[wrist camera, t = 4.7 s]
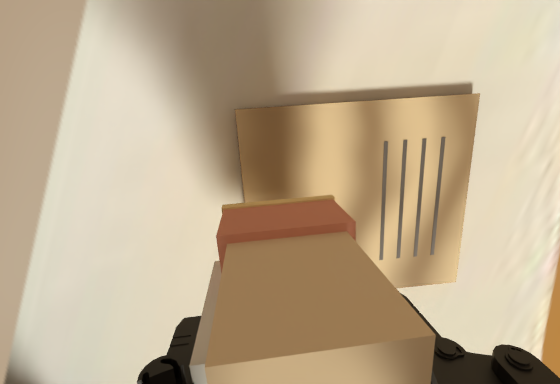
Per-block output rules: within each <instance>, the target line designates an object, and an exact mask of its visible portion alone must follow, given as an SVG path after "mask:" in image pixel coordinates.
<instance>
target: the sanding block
mask: <svg viewBox="0 0 560 384" xmlns="http://www.w3.org/2000/svg"><path fill="white" fill-rule="evenodd" d="M216 238H217V245H218V252H219V260H220V267H221V280H220V285H219V291H218V296H217V302H216V307H215V313H214V318H213V324H212V329H211V335H210V340H209V346H208V351H207V357H206V362H205V373H206V379H207V384H431V375H432V366H433V356H434V346H435V337H436V335H435V334H434V332H433V331H432V330H431V329H430V328H429V327H428V325H427V324H426V323H425V322H424V321H423V320H422V318H421V317H420V316H419V315H418V314H417V313H416V311H415V310H414V309H413V308H412V307H411V305H410V304H409V303H408V302H407V301H406V300H405V298H404V297H403V296H402V295H401V294H400V293H399V291H398V290H397V289H396V288H395V287H394V286H393V284H392V283H391V282H390V281H389V280H388V279H387V277H386V276H385V275H384V274H383V273H382V272H381V270H380V269H379V268H378V267H377V266H376V265H375V263H374V262H373V261H372V260H371V259H370V258H369V256H368V255H367V254H366V253H365V252H364V251H363V249H362V248H361V247H360V246H359V245H358V244H357V242H356V221H355V220H354V219H353V218H352V217H351V216H349V215H348V214H347V213H346V212H345V211H344V210H343V209H342V208H341V207H340V206H339V205H338V204H337V203H336V202H335V197H334V196H333V195H323V196H313V197H302V198H291V199H280V200H270V201H259V202H248V203H237V204H227V205H222V218H221V221H220V225H219V228H218V232H217V235H216Z"/></svg>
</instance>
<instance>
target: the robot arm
mask: <svg viewBox="0 0 560 384" xmlns="http://www.w3.org/2000/svg"><path fill="white" fill-rule="evenodd" d="M220 280H221V267H220V261H215V263H214V267H213V271H212V275H211V279H210V283H209V287H208V291H207V295H206V300H205V304H204V308H203V312H202V316H196V317H188V318H184V319H183V320H182V321H181V322H180V324H179V325H178V326H177V327H176V330H175V333H174V335H173V339H172V341H171V344H170V348H169V350H168V352H167V355H166V356H162V357H159V358H157V359H155V360H153V361H151V362H150V363H149V364H148V365H146V366H145V367H144V369H143V370H142V371H141V373H140V374H139V377H138V380H137V384H207V379H206V373H205V362H206V357H207V351H208V346H209V340H210V335H211V329H212V324H213V318H214V313H215V307H216V302H217V296H218V291H219V285H220ZM400 294H401V293H400ZM401 295H402V296H403V297H404V298H405V300H406V301H407V302H408V303H409V304H410V305H411V307H412V308H413V309H414V310H415V311H416V313H417V314H418V315H419V316H420V317H421V318H422V320H423V321H424V322H425V323H426V324H427V325H428V327H429V328H430V329H431V330H432V331H433V332H434V334H435V335H436V337H435V346H434V356H433V366H432V375H431V384H560V378H559V377H558V376H557V375H555V374H554V373H553V372H552V371H551V370H550V369H549V368H548V367H547V366H545V365H544V364H543V363H542V362H541V361H540V360H539V359H538V358H536V357H535V356H534V355H532V354H531V353H529V352H527V351H525V350H523V349H521V348H518V347H515V346H512V345H499V346H496V347H495V348H494V350H493V354H492V356H491V355H483V354H475V353H470V352H466V351H465V350H464V349H463V347H461V346H460V345H459V344H457V343H456V342H454V341H452V340H449V339H447V338H442V337H441V336H440V335H439V334H438V332H437V331H436V330H435V329H434V328H433V327H432V326H431V324H430V323H429V322H428V321H427V320H426V319H425V318H424V316H423V315H422V314H421V313H419V311H418V310H417V308H416V307H415V306H413V304H412V303H411V302H410V300H409V299H408V298H407V297H406V296H404V295H403V294H401Z"/></svg>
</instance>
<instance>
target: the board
mask: <svg viewBox="0 0 560 384" xmlns="http://www.w3.org/2000/svg"><path fill="white" fill-rule="evenodd" d="M479 97H480V93H478V94H463V95H448V96H433V97H417V98H402V99H387V100H372V101H356V102H341V103H326V104H311V105H295V106H280V107H265V108H250V109H235V114H236V124H237V134H238V143H239V153H240V162H241V172H242V181H243V191H244V200H245V203H248V202H259V201H270V200H280V199H291V198H302V197H313V196H323V195H333V196H334V197H335V202H336V203H337V204H338V205H339V206H340V207H341V208H342V209H343V210H344V211H345V212H346V213H347V214H348V215H349V216H351V217H352V218H353V219H354V220H355V221H356V242H357V244H358V245H359V246H360V247H361V248H362V249H363V251H364V252H365V253H366V254H367V255H368V256H369V258H370V259H371V260H372V261H373V262H374V263H375V265H376V266H377V267H378V268H379V269H380V270H381V272H382V273H383V274H384V275H385V276H386V277H387V279H388V280H389V281H390V282H391V283H392V284H393V286H394V287H395V288H403V287H413V286H422V285H432V284H441V283H451V282H456V277H457V269H458V261H459V253H460V246H461V238H462V230H463V222H464V214H465V207H466V199H467V191H468V183H469V175H470V167H471V160H472V152H473V144H474V136H475V128H476V121H477V113H478V105H479Z"/></svg>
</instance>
